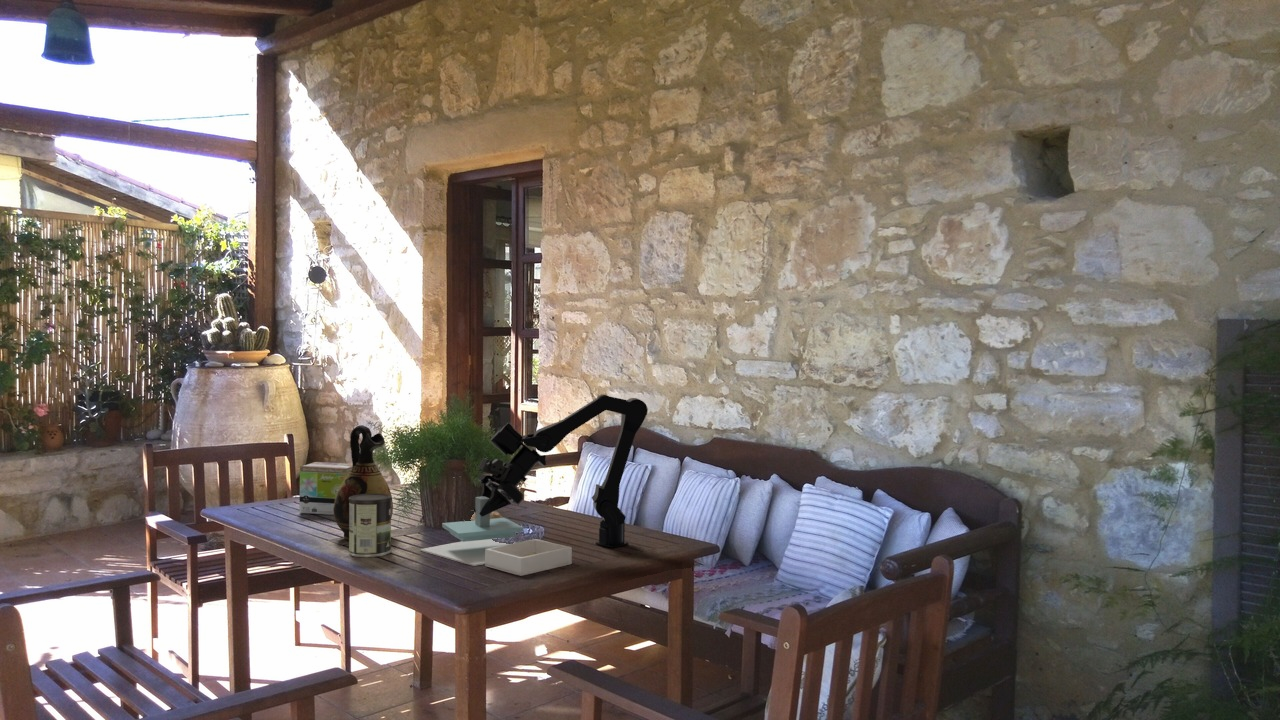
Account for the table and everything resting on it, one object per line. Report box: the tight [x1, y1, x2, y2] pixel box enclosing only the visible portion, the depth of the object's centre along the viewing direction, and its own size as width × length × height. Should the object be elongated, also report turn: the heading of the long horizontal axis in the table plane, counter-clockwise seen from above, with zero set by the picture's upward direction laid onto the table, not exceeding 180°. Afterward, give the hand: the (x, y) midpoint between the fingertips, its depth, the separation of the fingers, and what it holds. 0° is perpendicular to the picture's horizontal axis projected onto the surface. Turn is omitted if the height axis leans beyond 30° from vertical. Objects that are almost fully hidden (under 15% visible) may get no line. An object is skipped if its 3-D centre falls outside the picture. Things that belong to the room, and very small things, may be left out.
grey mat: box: [419, 539, 508, 567], centre depth 234 cm, size 22×22×1 cm
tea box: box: [298, 461, 353, 516], centre depth 281 cm, size 15×10×15 cm, turn 83°
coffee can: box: [348, 494, 393, 558], centre depth 230 cm, size 10×10×14 cm
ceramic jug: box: [333, 424, 394, 541], centre depth 247 cm, size 17×15×30 cm
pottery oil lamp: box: [470, 510, 503, 521], centre depth 264 cm, size 9×12×7 cm
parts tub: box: [484, 538, 573, 577], centre depth 220 cm, size 16×13×4 cm
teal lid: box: [441, 496, 524, 542], centre depth 233 cm, size 17×14×10 cm
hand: (477, 513), depth 233 cm, fingers closed on teal lid, 4 cm apart
